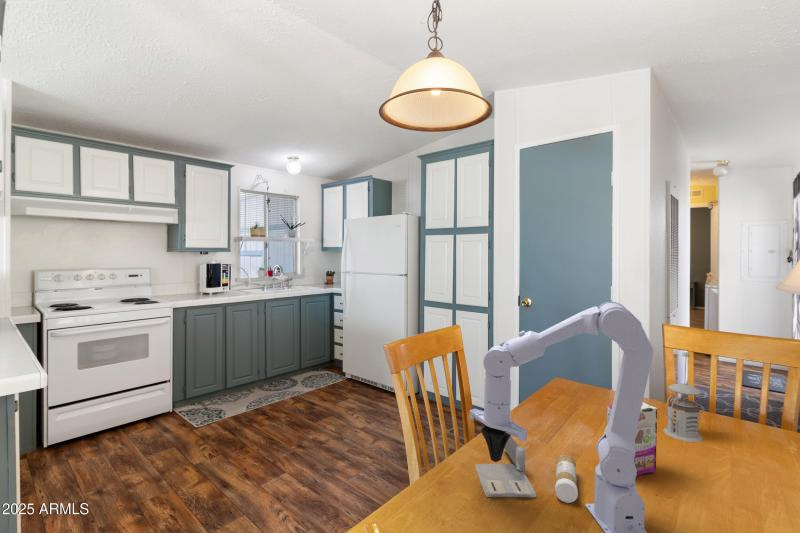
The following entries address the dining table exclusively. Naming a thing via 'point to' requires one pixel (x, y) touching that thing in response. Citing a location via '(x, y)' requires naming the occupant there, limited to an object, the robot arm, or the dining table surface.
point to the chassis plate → (504, 481)
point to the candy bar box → (644, 439)
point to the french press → (683, 413)
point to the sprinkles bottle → (566, 479)
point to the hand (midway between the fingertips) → (496, 459)
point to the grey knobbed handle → (516, 453)
